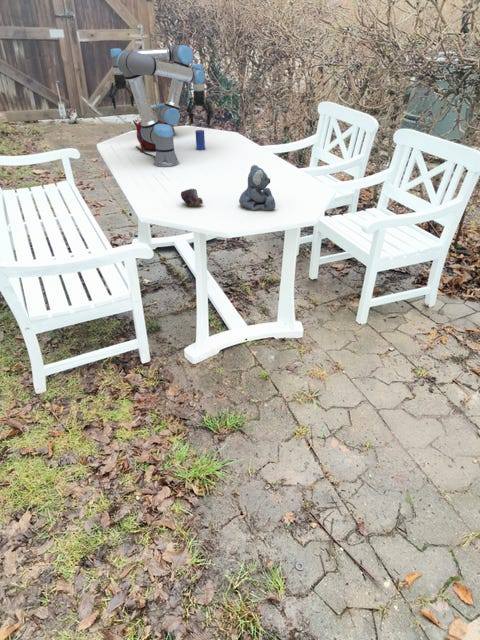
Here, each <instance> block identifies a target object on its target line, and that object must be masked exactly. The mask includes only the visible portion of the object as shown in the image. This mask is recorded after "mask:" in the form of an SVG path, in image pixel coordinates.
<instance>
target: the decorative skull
mask: <svg viewBox="0 0 480 640" xmlns="http://www.w3.org/2000/svg"><path fill="white" fill-rule="evenodd" d="M132 122H133V124H134V125H135V128H136V139H137V141H138V143H139V144H140V147H141V148H140V150H141V151H140V153H143V152H144V150H150V151H151V150H152V151H156V145H155V144H153V143H149V142H147V141H146V140H144V139H143V137H142V135H141V122H142V120H141V121H139V122H138V123H137V122H136V121H135V120H134V119H133V120H132ZM158 122H159V124H164V123H163V122H161V121H160V120H159V119H158ZM142 151H143V152H142Z"/></svg>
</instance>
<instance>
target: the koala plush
mask: <svg viewBox="0 0 480 640" xmlns="http://www.w3.org/2000/svg"><path fill="white" fill-rule="evenodd" d="M270 183H271V178H269V176H268V175H267V173H266V172H265V170H264V169H263V168H261V167H259V165H257V164H253V165H250V170H249V173H248V176H247V188H246V189H245V190H244V191H243V192H242V193H241V194H240V197H239V199H238V203H239V204H240V206H241V207H242V208H246V209H247V210H252V211H255V210H261V211H272V210H274V209H275V208H276V200H275V198H274V196H273V194H272V191H271V188H270V187H268V186H269V185H270Z"/></svg>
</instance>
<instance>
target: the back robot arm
mask: <svg viewBox="0 0 480 640" xmlns="http://www.w3.org/2000/svg"><path fill="white" fill-rule="evenodd" d="M123 51H132V52H139V53H142V54H144V55H147V56H150V57H153V58H155V59H156V60H158V61H166V62H172V64H174V65H179V66H183V67H187V68H190V64H191V63H192V62H193V60H194V52H193V50H192V48H191V47H190V46H188V45H185V44H174V45H167V46H165V47H162V48H161V47H160V48H142V49H139V48H138V49H121V48H117V47H115V48H111V49H110V58H111V59H110V60H111V64H112V65H111V66H112V72H113V74H114V75H113V80H114V82H110V87H109V91H108V95H107V97H108V98H110V101H111V104H112V105H113V109H117V106H116V99H115V98H116V97H115V96H116V94H117V92H118V91H119V90H125V91H126V92H127V93H128V94H129V95H130V96H129V98H130V99H129V100H130V105H131V107H134V106H135V105H134V104H135V103H134V102H135V99H134V96H133V93H132V90H131V87H130V84H129V82H128V81H127V80H125V77H124V75H123V72H121V71H120V70H119V68H118V66H117V58H118V55H119V54H120V53H121V52H123ZM114 86H115V87H114ZM127 86H128V87H127ZM183 86H184V82H179V81H178V80H177V79H173V78H171V82H170V85H169V92H168V97H167V101H165V102H163V103H157V104H156V105H155V110H156V118H157V119H159V120H160V121H161V122H163V123H164V124H167V125H170V126H171V127H172V131H173V136H175V135H176V129H175V127H174V125H176V124H177V123H178V122H179V121H180V118H181V114H180V108H181V107H180V105H179V103H180V100H181V95H182V89H183ZM114 97H115V98H114Z"/></svg>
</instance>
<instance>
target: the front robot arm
mask: <svg viewBox="0 0 480 640" xmlns="http://www.w3.org/2000/svg"><path fill="white" fill-rule="evenodd" d="M117 66H118V68H119V70H120V71H121V72H123V75H124V77H125V81H126V82H127V81H128V82H129V84H130V87H131V90H132V91H131V90H130V91H131V93H132V94H133V96H134V102H135V104H136V108H137V111H138V114H139V117H140V119H141V121H142V122H141V121H140V122H141V135H142V137H143V139H144V140H146V141H147V142H149V143H153V144H155V145H156V150H155V155H153V154H151V153H147V152H145V151H144V150H143V151H142V152H141V148H139V147H138V145H135V148H137V149H138V150H139V151H140V152H141V153H143V154H145V155H148V156H151V157H153V158H154V165H155V166H157V167H163V168H164V167H165V168H167V167H168V168H169V167H174V166H177V165H178V164H179V159H178V157H177V153H176V151H175V143H174V135H173V131H172V127H171V126H170V125H167V124H159V122H158V119H157V117H155V114H154V111H153V108H152V105H151V102H150V101H151V100H150V98H149V95H148V92H147V88H146V85H145V82H144V80H143V76H150V77H153V76H158V77H159V76H160V77H164V78H170V79H172V78H173V79H177V80H178V81H179V82H183V83H186V82H187V83H190V84H191V83H192V90H193V92H192V93H193V97H189V101H188V105H187V108H186V113H188V119H189V123H190V125H191V124H194V113H193V111H195V108H196V107H197V106H199V107H202V108H203V109H204V111H205V112H206V114H207V115H206V125H207V126H210V125H211V120H212V115H213V114H214V111H213V108H212V106H211V103H210V99H209V98H205V95H206V94H205V82H206V74H205V71H204V70H205V68H204V64H202V63H193V64H191V67H189V68H187V67H183V66H179V65H174V64H173V63H171V62H167V61H163V60H156V59H155V58H153V57H150V56H147V55H144V54H142V53H139V52H132V51H123V52H121V53H120V54H119V55H118V58H117Z"/></svg>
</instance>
